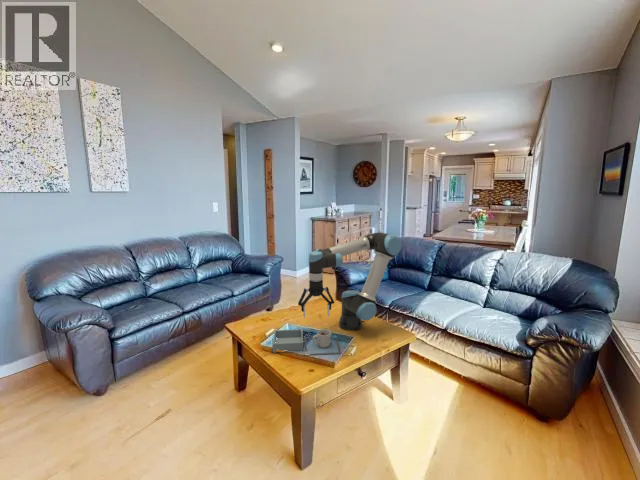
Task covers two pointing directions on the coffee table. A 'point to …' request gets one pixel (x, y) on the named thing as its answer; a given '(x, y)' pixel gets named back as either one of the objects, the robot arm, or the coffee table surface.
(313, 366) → the coffee table surface
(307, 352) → the square tray frame
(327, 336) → the cup
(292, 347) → the bin
